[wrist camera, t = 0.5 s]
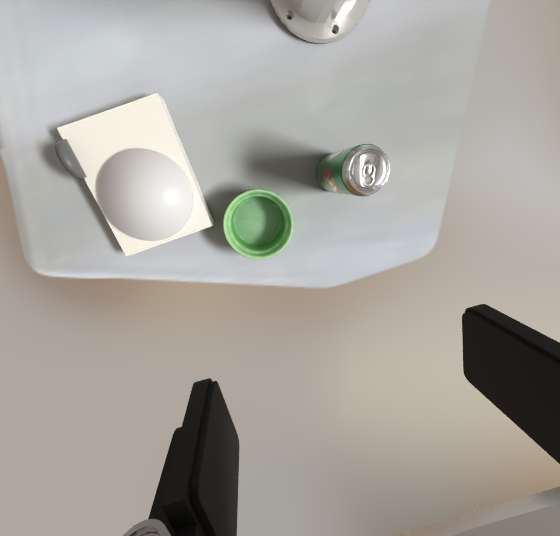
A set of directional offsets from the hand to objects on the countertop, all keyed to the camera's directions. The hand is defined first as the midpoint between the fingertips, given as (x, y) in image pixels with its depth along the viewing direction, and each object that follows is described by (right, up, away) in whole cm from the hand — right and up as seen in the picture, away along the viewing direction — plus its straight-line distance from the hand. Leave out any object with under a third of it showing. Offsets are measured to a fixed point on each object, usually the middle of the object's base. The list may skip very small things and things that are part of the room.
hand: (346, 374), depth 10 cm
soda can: (+5, +17, +29) cm, 34 cm away
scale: (-20, +15, +26) cm, 36 cm away
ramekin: (-6, +11, +30) cm, 32 cm away
